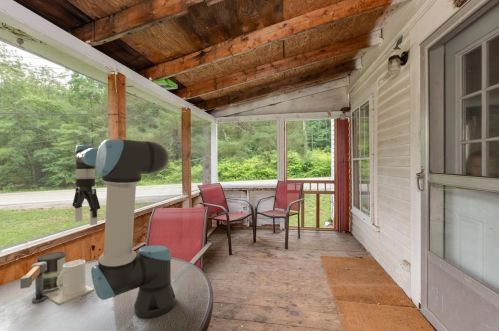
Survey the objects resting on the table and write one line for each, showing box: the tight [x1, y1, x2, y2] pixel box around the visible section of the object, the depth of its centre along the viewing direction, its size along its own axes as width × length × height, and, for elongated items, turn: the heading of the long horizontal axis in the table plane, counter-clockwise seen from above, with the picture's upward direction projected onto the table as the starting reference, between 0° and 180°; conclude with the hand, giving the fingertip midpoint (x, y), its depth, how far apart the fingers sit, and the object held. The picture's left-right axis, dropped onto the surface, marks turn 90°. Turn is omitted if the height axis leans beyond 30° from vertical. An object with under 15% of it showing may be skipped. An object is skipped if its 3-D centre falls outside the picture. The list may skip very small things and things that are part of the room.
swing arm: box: [19, 262, 47, 290], centre depth 93 cm, size 17×5×4 cm, turn 26°
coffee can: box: [36, 251, 67, 292], centre depth 111 cm, size 10×10×14 cm
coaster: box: [45, 284, 95, 306], centre depth 104 cm, size 13×13×1 cm
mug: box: [57, 259, 87, 295], centre depth 104 cm, size 12×8×12 cm
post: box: [31, 272, 47, 304], centre depth 99 cm, size 4×4×12 cm
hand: (86, 223), depth 112 cm, fingers open, 13 cm apart
